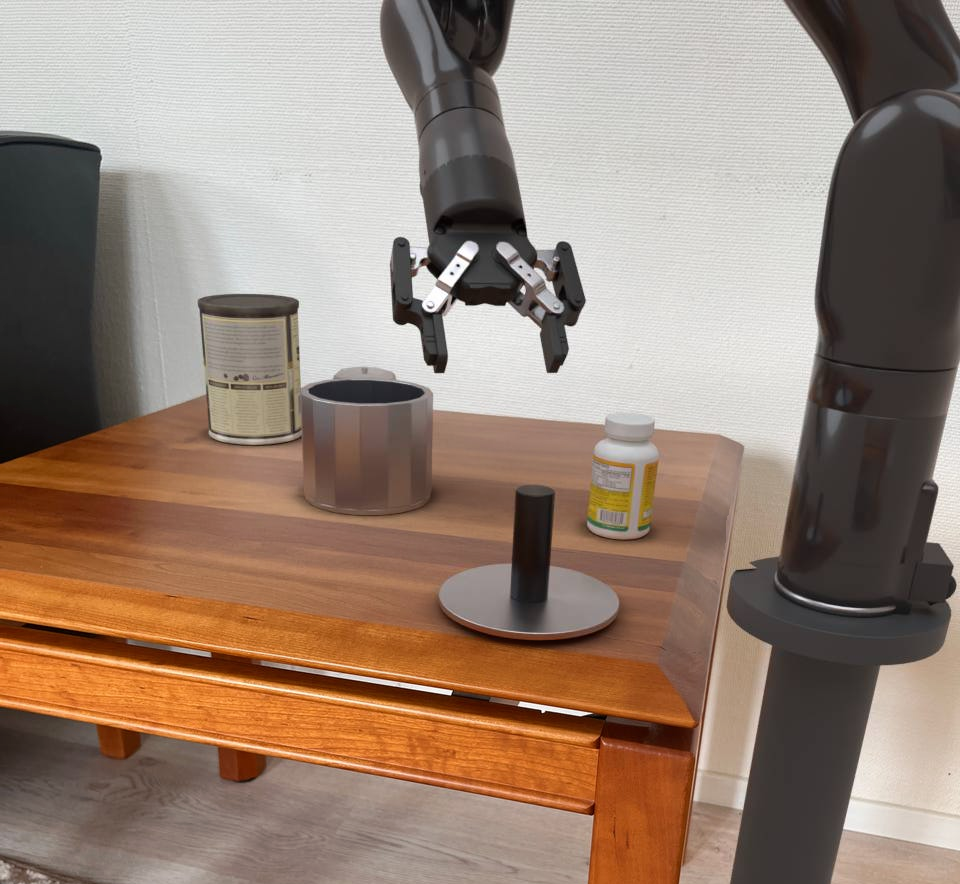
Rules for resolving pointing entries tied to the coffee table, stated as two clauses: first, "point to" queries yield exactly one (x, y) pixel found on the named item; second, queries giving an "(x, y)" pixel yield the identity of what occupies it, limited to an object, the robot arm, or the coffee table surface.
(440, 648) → the coffee table surface
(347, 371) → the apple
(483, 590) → the canister lid
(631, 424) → the supplement bottle
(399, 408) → the canister
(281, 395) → the coffee can
